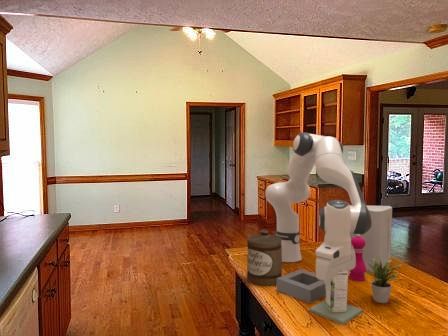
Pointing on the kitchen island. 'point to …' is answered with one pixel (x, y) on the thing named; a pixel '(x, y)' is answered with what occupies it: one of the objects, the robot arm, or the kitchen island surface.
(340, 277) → the syrup box
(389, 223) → the white triangular bin
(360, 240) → the pepper mill
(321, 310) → the mat
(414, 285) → the kitchen island surface
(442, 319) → the kitchen island surface
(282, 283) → the frame
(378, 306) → the kitchen island surface
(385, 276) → the house plant
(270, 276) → the wooden container
